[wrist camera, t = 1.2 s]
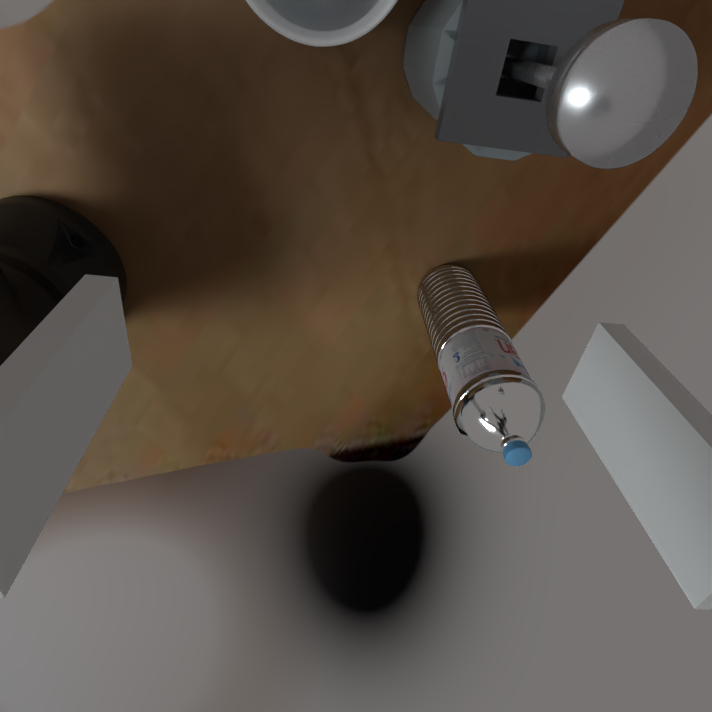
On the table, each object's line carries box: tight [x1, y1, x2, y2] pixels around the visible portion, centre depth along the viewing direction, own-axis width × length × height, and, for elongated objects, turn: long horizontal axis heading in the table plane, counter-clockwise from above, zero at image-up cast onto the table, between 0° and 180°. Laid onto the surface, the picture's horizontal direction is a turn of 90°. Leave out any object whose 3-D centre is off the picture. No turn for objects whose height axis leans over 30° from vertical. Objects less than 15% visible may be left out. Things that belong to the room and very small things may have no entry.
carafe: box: [403, 0, 625, 161], centre depth 33 cm, size 10×12×16 cm
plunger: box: [496, 18, 698, 169], centre depth 25 cm, size 6×6×16 cm
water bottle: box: [417, 264, 545, 466], centre depth 43 cm, size 7×7×25 cm
